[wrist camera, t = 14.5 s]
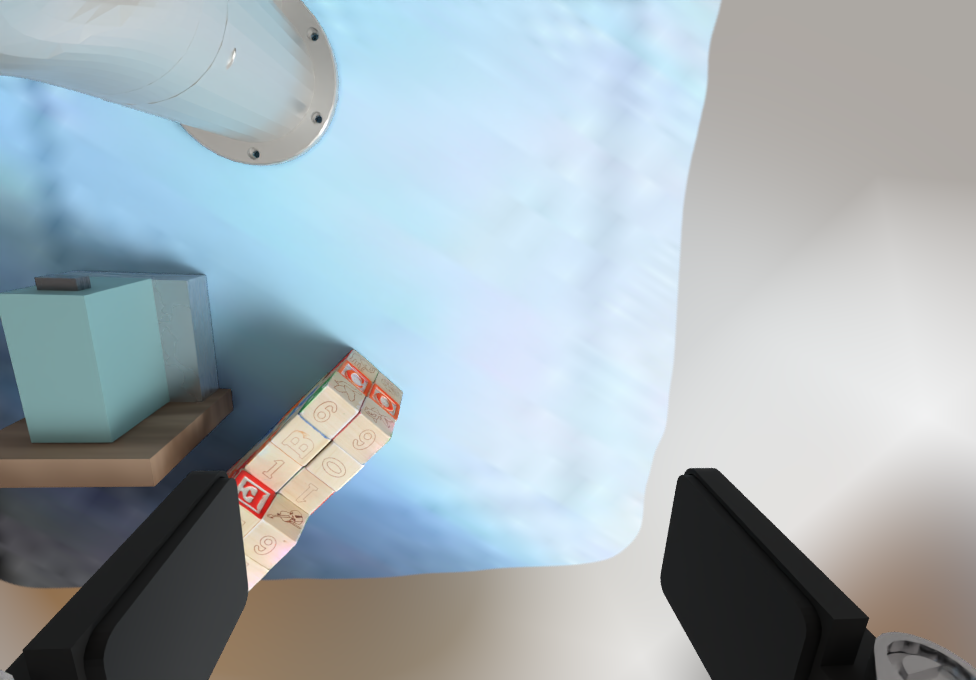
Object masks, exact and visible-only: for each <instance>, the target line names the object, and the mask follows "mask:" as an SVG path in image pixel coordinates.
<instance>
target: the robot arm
mask: <svg viewBox="0 0 976 680" xmlns="http://www.w3.org/2000/svg"><path fill="white" fill-rule="evenodd" d="M314 35H318V37H319V38H318V39H317V40H316V41H313V39H312V38H313V36H314ZM0 75H2V76H11V77H18V78H24V79H29V80H33V81H38V82H43V83H47V84H50V85H54V86H58V87H62V88H65V89H69V90H73V91H76V92H80V93H83V94H86V95H90V96H93V97H96V98H100V99H102V100H105V101H108V102H112V103H115V104H118V105H122V106H125V107H128V108H132V109H135V110H138V111H142V112H145V113H148V114H152V115H155V116H158V117H162V118H165V119H168V120H172V121H175V122H178V123H180V124H181V125H182V127H183V128H184V129H185V130H186V131H187V133H188V134H189V135H191V136H192V137H193V138H194V139H195V140H196V141H198V142H199V143H200V144H201V145H202V146H204V147H206V148H207V149H209V150H210V151H212V152H214V153H215V154H217V155H219V156H222V157H224V158H227V159H229V160H232V161H235V162H239V163H243V164H249V165H259V166H267V165H278V164H282V163H285V162H288V161H291V160H294V159H296V158H298V157H299V156H301V155H303V154H305V153H307V152H308V151H309V150H310V149H311V148H312V147H313V146H314V145H316V144H317V143H318V142H319V140H320V139H321V138H322V136H323V135H324V134H325V132H326V131H327V129H328V127H329V125H330V123H331V121H332V119H333V116H334V113H335V109H336V105H337V101H338V90H339V78H338V70H337V63H336V60H335V56H334V53H333V50H332V46H331V44H330V42H329V40H328V38H327V36H326V34H325V32H324V30H323V28H322V27H321V25H320V24H319V22H318V21H317V19H316V18H315V16H314V15H313V14H312V13H311V11H310V10H309V9H308V8H307V7H306V5H305V4H304V3H303V2H302V1H301V0H0ZM319 116H320V117H322V122H321V123H317V120H316V119H317V117H319ZM256 151H258V152H259V153H260V155H259V158H256V157H255V152H256ZM660 578H661V586H662V590H663V593H664V595H665V596H666V598H667V600H668V602H669V604H670V606H671V607H672V609H673V611H674V613H675V614H676V616H677V618H678V620H679V621H680V623H681V625H682V627H683V629H684V631H685V632H686V634H687V636H688V638H689V640H690V641H691V643H692V645H693V647H694V649H695V650H696V652H697V654H698V656H699V658H700V659H701V661H702V663H703V665H704V666H705V668H706V670H707V672H708V673H709V675H710V677H711V679H712V680H976V669H975V668H974V667H972V666H971V665H970V664H969V663H968V662H966V661H965V660H963V659H962V658H960V657H959V656H957V655H955V654H954V653H952V652H951V651H949V650H947V649H946V648H943V647H941V646H939V645H937V644H935V643H933V642H931V641H929V640H926V639H923V638H920V637H917V636H914V635H911V634H906V633H899V632H890V633H883V634H881V635H880V636H879V637H877V638H876V637H875V636H874V635H873V634H872V633H871V632H870V631H869V630H867V628H866V626H867V623H868V620H869V617H867V615H866V614H865V613H864V612H863V611H861V609H859V608H858V607H857V606H856V605H855V604H854V603H853V602H852V601H851V600H850V599H849V598H848V597H847V596H846V595H845V594H844V593H843V592H842V591H841V590H840V589H839V588H838V587H837V586H836V585H835V584H834V583H833V582H832V581H831V580H830V579H829V578H828V577H827V576H826V575H825V574H824V573H823V572H822V571H821V570H820V569H819V568H818V567H816V565H815V564H814V563H812V561H810V560H809V559H808V558H807V557H806V556H805V555H804V554H803V553H802V552H801V551H800V550H799V549H798V548H797V547H796V546H795V545H794V544H793V543H792V542H791V541H790V540H789V539H788V538H787V537H786V536H785V535H784V534H783V533H782V532H781V531H780V530H779V529H778V528H777V527H776V526H775V525H774V524H773V523H772V522H771V521H770V520H769V519H767V518H766V516H765V515H764V514H762V513H761V512H760V511H759V510H758V509H757V508H756V507H755V506H754V505H753V504H752V503H751V502H750V501H749V500H748V499H747V498H746V497H745V496H744V495H743V494H742V493H741V492H740V491H739V490H738V489H737V488H736V487H735V486H734V485H733V484H732V483H731V482H730V481H729V480H728V479H727V478H726V477H725V476H724V475H723V474H722V473H721V472H720V471H718V470H717V469H715V468H690V469H687V470H686V472H685V474H684V475H681V476H679V478H678V480H677V485H676V491H675V496H674V502H673V507H672V514H671V519H670V525H669V530H668V537H667V542H666V547H665V553H664V558H663V564H662V570H661V577H660ZM247 596H248V579H247V570H246V561H245V552H244V543H243V534H242V525H241V516H240V507H239V498H238V489H237V483H236V480H235V479H234V478H228V475H227V473H226V472H225V471H192V472H191V473H190V474H188V475H187V477H186V478H185V479H184V480H183V481H182V482H181V483H180V484H179V485H178V486H177V487H176V488H175V489H174V490H173V491H172V492H171V493H170V495H169V496H168V497H167V498H166V499H165V500H164V501H163V502H162V503H161V504H160V505H159V506H158V507H157V508H156V509H155V510H154V511H153V513H152V514H151V515H150V516H149V517H148V518H147V519H146V520H145V521H144V522H143V523H142V524H141V525H140V526H139V527H138V528H137V529H136V530H135V532H134V533H133V534H132V535H131V536H130V537H129V538H128V539H127V540H126V541H125V542H124V543H123V544H122V545H121V546H120V547H119V548H118V550H117V551H116V552H115V553H114V554H113V555H112V556H111V557H110V558H109V559H108V560H107V561H106V562H105V563H104V564H103V565H102V566H101V568H100V569H99V570H98V571H97V572H96V573H95V574H94V575H93V576H92V577H91V578H90V579H89V580H88V581H87V582H86V583H85V584H84V586H83V587H82V588H81V589H80V590H79V591H78V592H77V593H76V594H75V595H74V596H73V597H72V598H71V599H70V601H68V603H67V604H66V605H65V606H64V607H63V608H62V609H61V610H60V611H59V612H58V613H57V614H56V615H55V616H54V617H53V618H52V619H51V620H50V622H49V623H48V624H47V625H46V626H45V627H44V628H43V629H42V630H41V631H40V632H39V633H38V634H37V635H36V636H35V638H34V639H32V641H31V642H30V643H29V644H28V645H27V646H26V647H25V648H24V649H23V653H22V654H21V655H20V656H19V657H18V658H17V659H16V660H15V661H14V663H13V664H12V665H11V666H10V667H9V668H8V669H7V670H6V671H5V672H4V671H2V670H0V680H208V679H209V677H210V675H211V673H212V671H213V669H214V667H215V665H216V663H217V661H218V659H219V657H220V655H221V653H222V651H223V649H224V647H225V645H226V643H227V641H228V639H229V637H230V635H231V633H232V631H233V629H234V627H235V625H236V623H237V621H238V619H239V617H240V615H241V613H242V611H243V609H244V606H245V604H246V601H247Z"/></svg>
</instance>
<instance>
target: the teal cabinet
mask: <svg viewBox="0 0 976 680" xmlns="http://www.w3.org/2000/svg"><path fill="white" fill-rule="evenodd" d="M35 282H36V285H35V286H30V287H25V288H20V289H15V290H10V291H5V292H1V293H0V317H1V321H2V325H3V329H4V333H5V337H6V341H7V345H8V349H9V353H10V357H11V361H12V366H13V370H14V374H15V378H16V382H17V386H18V390H19V394H20V398H21V402H22V406H23V410H24V414H25V419H26V423H27V427H28V431H29V435H30V439H31V443H106V442H114V441H115V440H116V439H118V438H119V437H121V436H122V435H123V434H125V433H126V432H127V431H129V430H130V429H132V428H133V427H134V426H136V425H137V424H139V423H140V422H141V421H143V420H144V419H146V418H147V417H148V416H150V415H151V414H152V413H154V412H155V411H157V410H158V409H159V408H161V407H162V406H164V405H165V404H166V403H168V402H169V401H170V398H169V391H168V385H167V378H166V372H165V365H164V359H163V352H162V346H161V339H160V333H159V326H158V319H157V313H156V306H155V300H154V293H153V287H152V280H151V278H119V277H89V276H75V275H46V276H40V277H35Z"/></svg>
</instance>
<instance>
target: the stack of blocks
mask: <svg viewBox="0 0 976 680" xmlns="http://www.w3.org/2000/svg"><path fill="white" fill-rule="evenodd" d="M402 395H403V392H402V391H401V390H400V389H398V388H397V387H396V386H395V385H394V384H393V383H392V382H391V381H389V380H388V379H387V378H386V377H385V376H384V375H383V374H382V373H380V372H379V371H378V369H376V368H375V367H374V366H373V365H372V364H371V363H370V362H369V361H368V360H366V359H365V358H364V357H363V356H362V355H360V354H359V353H358V352H357V351H355V350H354V349H352V350H351V351H350V352H349V353H348V354H347V355H346V356H345V357H344V358H343V359H342V360H341V361H340V362H339V363H338V364H337V365H336V366H335V368H333V369H332V370H331V372H328V373H327V374H326V375H325V376H324V377H323V378H322V379H321V380H320V381H319V382H318V383H317V384H316V385H315V386H314V387H313V388H312V389H311V390H310V391H309V392H308V393H307V394H306V395H305V396H303V397H302V398H301V399H300V400H299V401H298V402H297V403H296V404H295V405H294V406H293V407H292V408H291V409H290V410H289V411H288V412H287V413H286V414H285V415H284V417H283V418H282V419H281V420H280V421H279V422H278V423H277V424H276V425H275V426H274V427H273V428H272V429H271V430H270V431H269V432H268V433H267V434H266V435H265V436H264V437H263V438H262V439H261V440H260V441H259V442H258V443H257V444H256V445H255V446H254V447H253V448H252V449H251V450H250V451H249V452H248V453H247V454H246V455H245V456H244V457H243V458H242V459H239V461H237V462H236V463H235V464H234V465H233V466H232V467H231V468H230V469H229V470H228V471H227V472H226V473H227V475H228V478H234V479H235V480H236V483H237V489H238V498H239V507H240V516H241V525H242V534H243V543H244V552H245V561H246V570H247V579H248V592H249V591H250V590H251V589H252V588H253V587H254V586H255V585H256V584H257V583H258V582H259V581H260V580H261V579H262V578H263V577H264V576H265V575H266V574H267V573H268V571H269V570H270V569H271V568H272V567H273V566H274V565H275V564H276V563H277V562H278V561H279V560H281V559H282V558H283V557H284V556H285V555H286V554H287V553H288V552H289V551H290V550H291V549H292V548H293V547H294V546H295V545H296V543H297V541H298V539H299V537H300V535H301V533H302V531H303V528H304V526H305V524H306V522H307V520H308V517H309V516H310V515H311V514H312V513H313V512H314V511H315V510H316V509H317V508H318V507H319V506H321V505H322V504H323V503H324V502H325V501H326V500H327V499H328V498H329V497H330V496H331V495H332V494H333V493H334V492H335V491H338V490H339V489H340V488H341V487H342V486H343V485H345V484H346V483H347V482H348V481H349V480H350V479H351V478H352V477H353V476H354V475H355V474H356V473H357V472H358V471H359V470H360V469H362V468H363V467H364V465H365V463H366V462H367V461H368V460H369V459H370V458H371V457H372V456H373V455H374V454H375V453H376V452H377V451H379V450H380V449H381V448H382V447H383V446H384V445H385V444H386V443H387V442H388V441H389V440H390V439H391V436H392V433H393V428H394V425H395V422H396V421H397V418H398V414H399V410H400V404H401V400H402Z"/></svg>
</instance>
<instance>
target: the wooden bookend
mask: <svg viewBox="0 0 976 680" xmlns="http://www.w3.org/2000/svg"><path fill="white" fill-rule="evenodd" d="M55 275H75V276H89V277H119V278H151V280H152V287H153V293H154V300H155V306H156V313H157V319H158V326H159V333H160V339H161V346H162V352H163V359H164V365H165V372H166V378H167V385H168V391H169V398H170V401H169V402H168V403H166V404H165V405H164V406H162V407H161V408H159V409H158V410H157V411H155V412H154V413H152V414H151V415H150V416H148V417H147V418H146V419H144V420H143V421H141V422H140V423H139V424H137V425H136V426H134V427H133V428H132V429H130V430H129V431H127V432H126V433H125V434H123V435H122V436H121V437H119V438H118V439H116V440H115V441H114V442H106V443H31V439H30V435H29V431H28V427H27V423H26V419H25V418H23V419H21V420H19V421H17V422H15V423H13V424H11V425H9V426H7V427H5V428H4V429H2V430H0V488H18V487H143V486H155V485H157V484H158V483H159V482H160V481H161V480H162V479H163V478H164V477H165V476H166V475H167V474H168V473H169V472H170V471H171V470H172V469H173V468H174V467H175V466H176V465H177V464H178V463H179V462H180V461H181V460H182V459H183V458H184V457H185V456H186V455H187V454H188V453H189V452H190V451H191V450H192V449H193V448H194V447H195V446H196V445H198V444H199V443H200V442H201V441H202V440H203V439H204V438H205V437H206V436H207V435H208V434H209V433H210V432H211V431H212V430H213V429H214V428H215V427H216V426H217V425H218V424H219V423H220V422H221V421H222V420H223V419H224V418H225V417H226V416H227V415H228V414H229V413H230V412H231V411H232V410H233V403H232V393H231V389H219V384H218V375H217V366H216V358H215V349H214V341H213V332H212V323H211V315H210V306H209V297H208V289H207V280H206V275H190V274H159V273H127V272H96V271H71V272H65V273H60V274H55Z"/></svg>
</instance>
